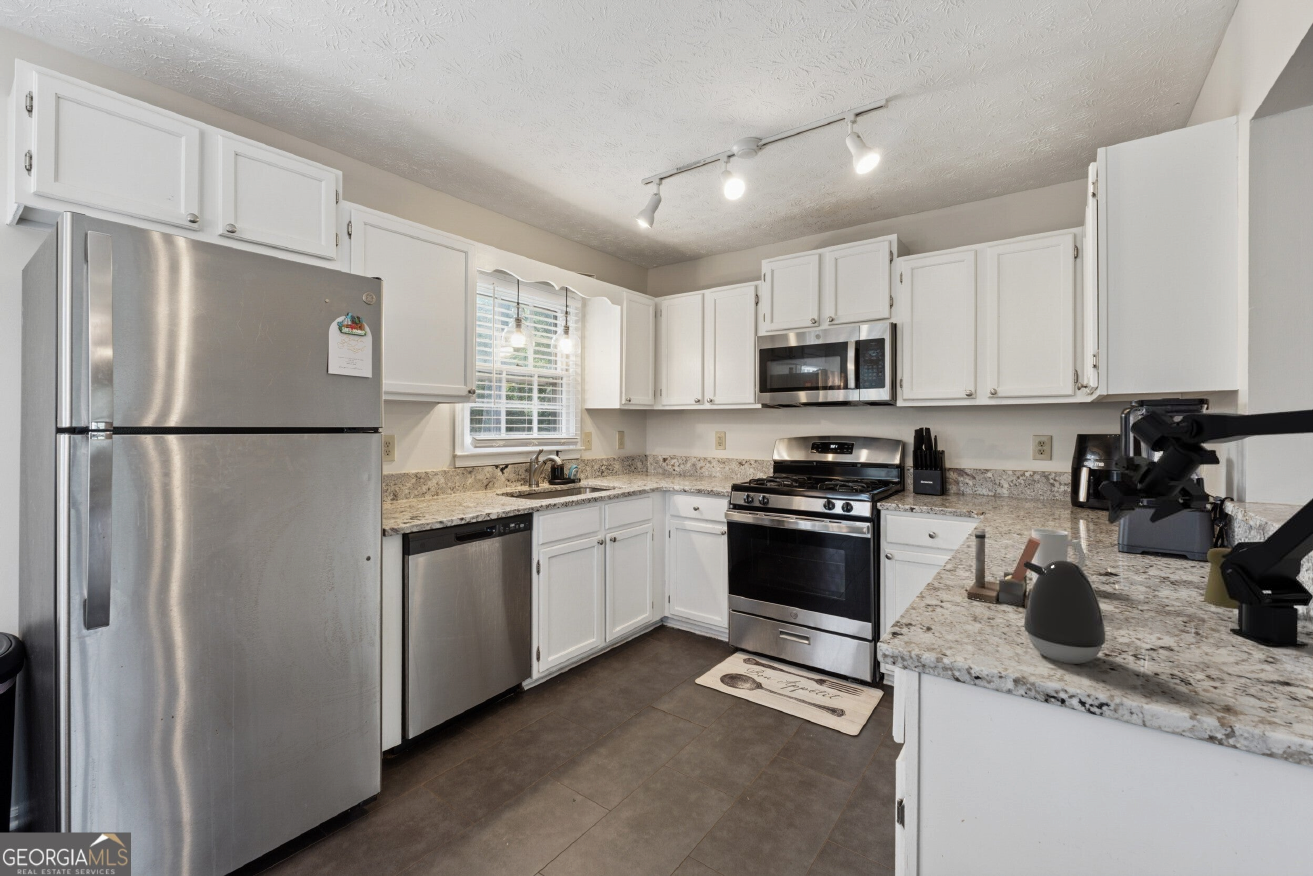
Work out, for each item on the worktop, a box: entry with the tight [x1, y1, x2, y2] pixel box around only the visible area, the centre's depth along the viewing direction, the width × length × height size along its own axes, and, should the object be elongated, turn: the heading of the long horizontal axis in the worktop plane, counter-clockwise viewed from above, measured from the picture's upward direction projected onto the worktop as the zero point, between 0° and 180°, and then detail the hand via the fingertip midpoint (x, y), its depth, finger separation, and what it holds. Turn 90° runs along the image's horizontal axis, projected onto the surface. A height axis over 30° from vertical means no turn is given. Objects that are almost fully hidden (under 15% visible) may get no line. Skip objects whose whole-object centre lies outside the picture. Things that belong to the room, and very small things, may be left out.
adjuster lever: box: [1005, 535, 1041, 593], centre depth 114 cm, size 4×4×13 cm
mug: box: [1031, 528, 1086, 584], centre depth 123 cm, size 10×7×12 cm, turn 33°
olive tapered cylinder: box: [1203, 547, 1240, 610], centre depth 110 cm, size 6×6×11 cm
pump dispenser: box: [1023, 560, 1106, 665], centre depth 86 cm, size 10×10×15 cm
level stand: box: [967, 529, 1033, 609], centre depth 115 cm, size 15×11×14 cm
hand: (1130, 522), depth 118 cm, fingers open, 9 cm apart
